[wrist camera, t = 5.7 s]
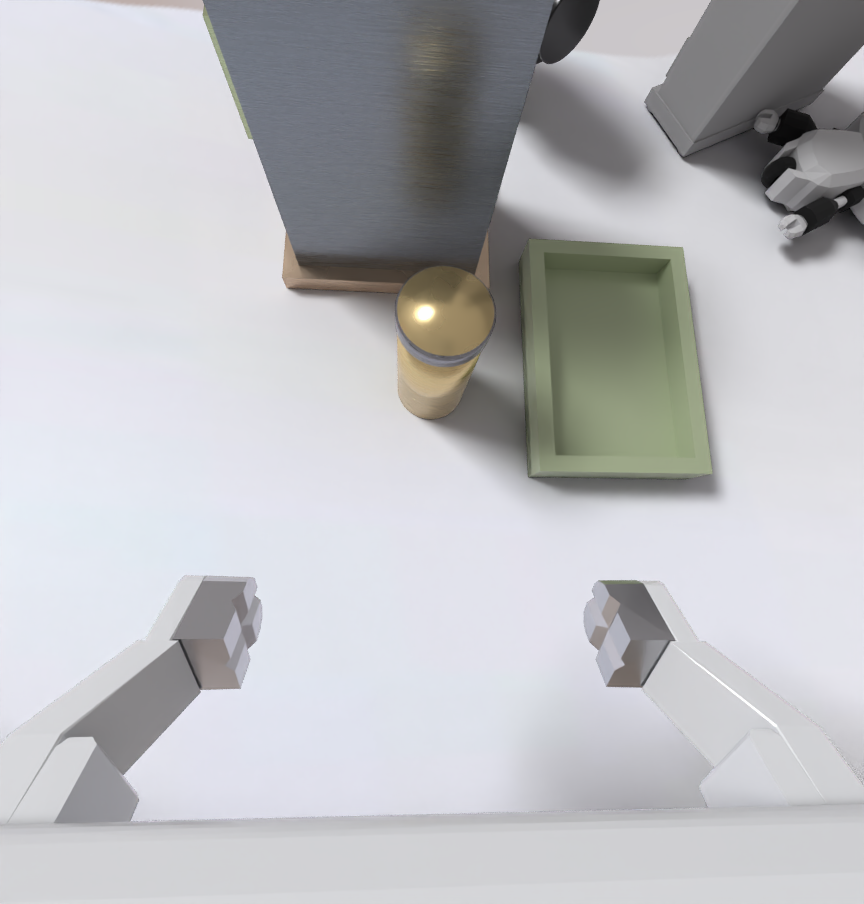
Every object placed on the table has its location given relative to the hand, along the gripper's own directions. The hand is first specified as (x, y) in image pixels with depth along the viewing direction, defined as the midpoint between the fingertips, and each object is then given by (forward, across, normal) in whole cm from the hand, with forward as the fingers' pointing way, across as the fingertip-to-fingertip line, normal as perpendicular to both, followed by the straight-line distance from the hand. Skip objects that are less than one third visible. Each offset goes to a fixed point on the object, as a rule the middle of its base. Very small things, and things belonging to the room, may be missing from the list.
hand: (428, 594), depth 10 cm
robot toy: (+33, -34, -9) cm, 48 cm away
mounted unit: (+28, +2, -5) cm, 29 cm away
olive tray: (+22, -13, +2) cm, 25 cm away
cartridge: (+20, -1, +4) cm, 20 cm away
